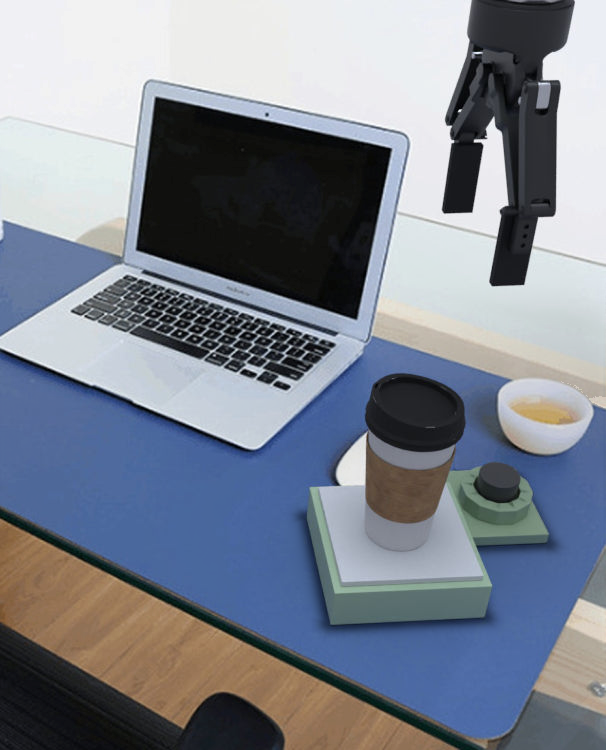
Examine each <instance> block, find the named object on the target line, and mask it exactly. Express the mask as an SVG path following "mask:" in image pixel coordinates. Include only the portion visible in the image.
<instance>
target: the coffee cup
mask: <svg viewBox="0 0 606 750" xmlns="http://www.w3.org/2000/svg"><path fill="white" fill-rule="evenodd" d="M465 412H466V410H465V403H464V400H463V398H462V396H460V395H459V394H458V393H457V391H455V390H454V389H453V388H451V387H449V386H448V385H447V384H444V383H442V382H440V381H437V380H435V379H432V378H430V377H427V376H423V375H420V374H419V375H418V374H414V373H407V372H406V373H405V372H396V373H395V372H394V373H390V374H387V375H385V376H383V377H381V378H379V379H378V380H376V381H375V382H373V384H372V387H371V391H370V396H369V399H368V401H367V402H366V406H365V413H364V421H365V424H366V427H367V428H368V430H367V432H366V435H365V477H364V478H365V479H364V480H365V481H364V483H365V484H364V485H365V520H364V524H365V531H366V533H367V535H368V536H369V538H370V539H371V540H372V541H373V542H375V543H376V544H378V545H379V546H381V547H383V548H386V549H389V550H394V551H409V550H414V549H416V548H418V547H420V546H421V545H423V544H424V543H425V542H426V540H427V538H428V536H429V533H430V529H431V526H432V523H433V519H434V516H435V512H436V510H437V508H438V504H439V501H440V498H441V495H442V492H443V489H444V486H445V483H446V480H447V477H448V474H449V471H451V468H452V465H453V462H454V458H455V455H456V451H457V447H456V444H457V443H458V442H459V441H460V440H461V439H462V437H463V436H464V434H465V429H466V424H467V420H466V415H465V414H466V413H465Z"/></svg>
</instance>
